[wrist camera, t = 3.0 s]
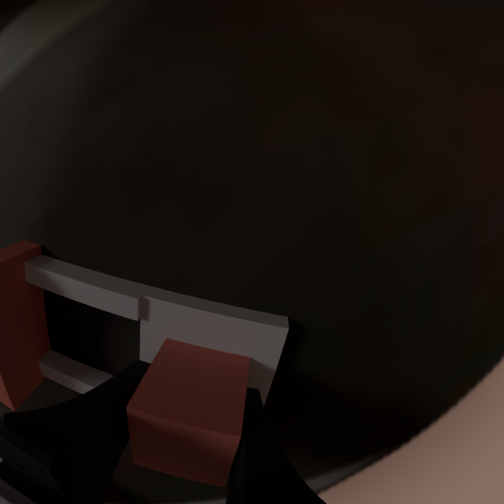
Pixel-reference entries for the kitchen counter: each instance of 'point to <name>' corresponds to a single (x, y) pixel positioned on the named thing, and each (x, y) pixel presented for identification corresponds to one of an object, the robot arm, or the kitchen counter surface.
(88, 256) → the kitchen counter surface
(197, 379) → the white rails red ends
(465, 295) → the kitchen counter surface
